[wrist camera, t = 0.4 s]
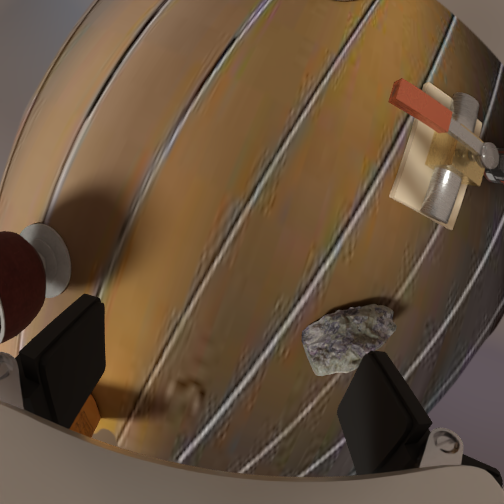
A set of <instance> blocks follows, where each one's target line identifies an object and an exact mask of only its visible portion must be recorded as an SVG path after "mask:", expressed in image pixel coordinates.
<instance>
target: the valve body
mask: <svg viewBox="0 0 504 504" xmlns="http://www.w3.org/2000/svg"><path fill="white" fill-rule="evenodd" d="M478 110H479V103H478V102H477V100H476V99H474V98H473V97H472V96H470V95H468V94H465V93H455V94H453V98H452V103H451V108H450V111H452V112H453V113H452V117H451V118H453V119H454V120H455V121H457V122H458V123H459V124H460V125H462V126H463V127H464V128H466V129H467V130H468V131H469V132H470V133H472V134H473V135H474V136H475V137H477V136H476V135H475V134H474V131H475V126H476V121H477V115H478ZM477 138H478V137H477ZM478 139H479V140H480V141H481V142H482V143H484V142H483V141H482V140H481V139H480V138H478ZM425 165H426V166H428V167H429V168H431V169H433V170H434V171H433V174H432V177H431V180H430V183H429V186H428V189H427V192H426V195H425V198H424V201H423V204H422V206H421V209H420V212H422V213H423V214H425V215H427V216H428V217H430V218H432V219H435V220H437V221H439V222H442V223H444V224H448V221H449V218H450V215H451V212H452V210H453V207H454V204H455V201H456V198H457V194H458V191H459V188H460V185H461V184H465V185H473V186H480V185H481V181H482V177H483V173H484V170H485V168H481V167H480V166H479V165H478V164H477V162H476V159H475V154H474V153H473V152H471V151H470V150H469V149H468V148H466V147H465V146H464V145H462V144H461V143H460V142H458V141H457V140H456V139H454V138H453V137H452V136H450V135H449V134H448V133H437V132H436V131H434V135H433V138H432V142H431V145H430V149H429V152H428V155H427V159H426V162H425Z"/></svg>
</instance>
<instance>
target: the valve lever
mask: <svg viewBox="0 0 504 504" xmlns="http://www.w3.org/2000/svg"><path fill="white" fill-rule="evenodd" d="M389 103H391V104H393V105H395V106H396V107H398V108H400V109H401V110H403V111H405V112H406V113H408V114H410V115H411V116H413V117H415V118H416V119H418V120H419V121H421V122H422V123H424V124H426V125H427V126H429V127H430V128H432V129H433V130H435V131H436V132H437V133H448V134H449V135H450V136H452V137H453V138H454V139H456V140H457V141H458V142H460V143H461V144H462V145H464V146H465V147H466V148H468V149H469V150H470V151H471V152H473V153H474V154H475V159H476V162H477V164H478V165H479V166H480V167H481V168H485V169H494V168H496V167H497V165H498V162H499V154H498V150H497V148H496V146H495V145H494V144H493V143H491V142H485V143H482V142H481V141H480V140H479V139H478V138H477V137H475V136H474V135H473V134H472V133H470V132H469V131H468V130H467V129H466V128H464V127H463V126H462V125H460V124H459V123H458V122H457V121H455V120H454V119H453V118H451V117H452V113H453V112H452V111H450V110H449V109H448V108H446V107H445V106H443V105H442V104H441V103H439V102H438V101H436V100H435V99H434V98H432V97H431V96H429V95H428V94H426V93H425V92H423V91H422V90H420V89H419V88H417V87H415V86H414V85H412V84H411V83H409V82H407V81H406V80H404V79H403V78H401V79H399V80H398V81H396V82H394V85H393V88H392V92H391V95H390V98H389Z"/></svg>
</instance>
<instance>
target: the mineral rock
mask: <svg viewBox="0 0 504 504" xmlns="http://www.w3.org/2000/svg"><path fill="white" fill-rule="evenodd" d="M393 313H394V312H393V310H392V309H390V308H388V307H386V306H383V305H379V306H378V305H376V304H370V305H366V306H363V307H360V306H359V307H356V308H354V307H350V308H349V309H347V310H337V311H336V312H335V313H332V314H327V315H324V316H323V317H322V318H321V319H320V320H319V321H316V322H315V323H313V324H311V325H309V326H308V327H307V328H306V329H305V330H303V332H302V343H303V346H304V349H305V352H306V355H307V358H308V360H309V362H310V364H311V367H312V369H313V371H314V373H315V374H316V375H318V376H324V375H327V374H332V373H348V372H350V371H353V370H355V369H357V368H358V367H359V364H360V362H361V360H362V358H363V356H364V355H365V354H368V353H369V352H370V351H375V350H377V349H379V348H380V347H382V346H383V344H384V343H385V342H386V341H387V339H388V337H390V336H391V334H393V332H394V331H395V330H396V327H397V326H396V325H395V324H394V323H393V321H392V319H393Z"/></svg>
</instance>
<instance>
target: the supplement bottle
mask: <svg viewBox="0 0 504 504" xmlns="http://www.w3.org/2000/svg"><path fill="white" fill-rule="evenodd" d="M497 150H498V154H499V162H498V165H497V167H496V168H494V169H485V170H484V173H483V174H484V176H485V178H486V179H487V180H488V181H490V182H493V183H499V184H504V148H497Z"/></svg>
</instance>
